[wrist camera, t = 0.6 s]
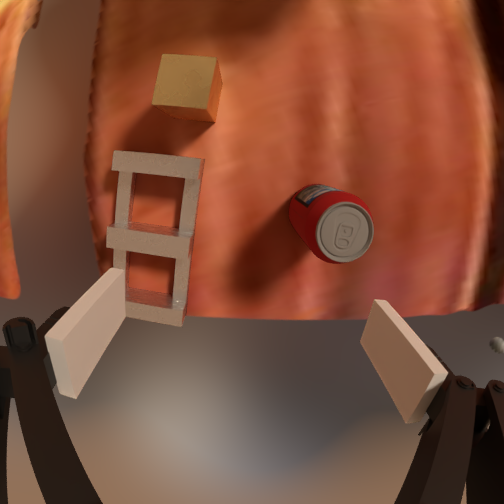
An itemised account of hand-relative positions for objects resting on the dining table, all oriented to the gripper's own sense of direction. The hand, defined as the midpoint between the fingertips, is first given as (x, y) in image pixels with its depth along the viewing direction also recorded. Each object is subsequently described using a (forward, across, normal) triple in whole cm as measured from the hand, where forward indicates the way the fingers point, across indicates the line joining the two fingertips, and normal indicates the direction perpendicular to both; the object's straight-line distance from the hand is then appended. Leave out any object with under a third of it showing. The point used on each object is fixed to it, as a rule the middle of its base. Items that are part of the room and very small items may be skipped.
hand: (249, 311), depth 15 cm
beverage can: (+23, +8, +2) cm, 25 cm away
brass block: (+23, -7, +14) cm, 28 cm away
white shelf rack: (+23, -11, -3) cm, 26 cm away
